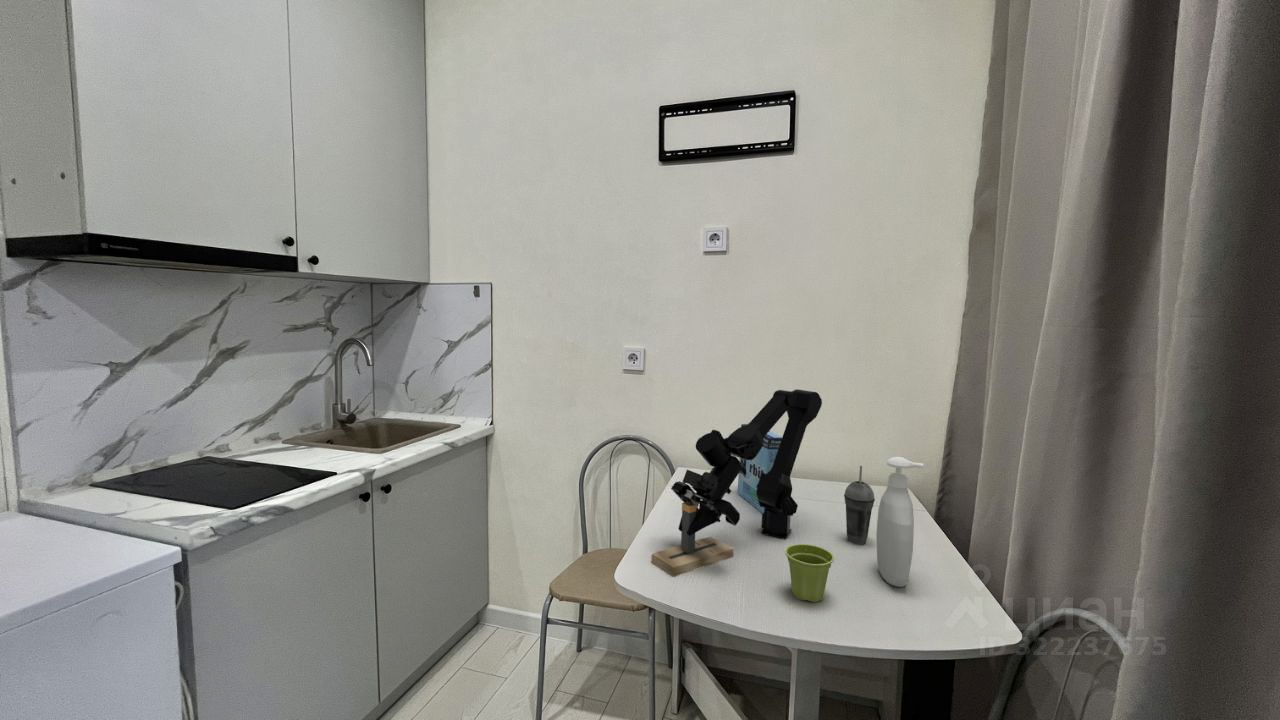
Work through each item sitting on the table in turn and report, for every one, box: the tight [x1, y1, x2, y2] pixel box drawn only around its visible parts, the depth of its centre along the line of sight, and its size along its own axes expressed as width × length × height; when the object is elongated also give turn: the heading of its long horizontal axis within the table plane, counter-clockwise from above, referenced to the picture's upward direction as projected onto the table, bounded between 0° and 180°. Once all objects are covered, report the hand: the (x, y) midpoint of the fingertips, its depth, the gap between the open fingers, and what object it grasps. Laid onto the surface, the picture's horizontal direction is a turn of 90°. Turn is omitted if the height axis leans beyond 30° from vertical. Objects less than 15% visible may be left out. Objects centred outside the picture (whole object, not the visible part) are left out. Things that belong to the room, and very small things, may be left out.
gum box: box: [737, 423, 783, 514], centre depth 158 cm, size 20×5×23 cm, turn 13°
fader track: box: [651, 536, 734, 577], centre depth 120 cm, size 18×8×2 cm, turn 125°
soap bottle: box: [875, 456, 925, 588], centre depth 113 cm, size 14×8×27 cm, turn 169°
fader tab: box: [680, 502, 698, 553], centre depth 119 cm, size 2×3×11 cm
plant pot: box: [784, 543, 835, 603], centre depth 106 cm, size 9×9×9 cm
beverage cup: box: [843, 465, 876, 546], centre depth 132 cm, size 7×7×20 cm
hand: (683, 532), depth 118 cm, fingers closed on fader tab, 2 cm apart
